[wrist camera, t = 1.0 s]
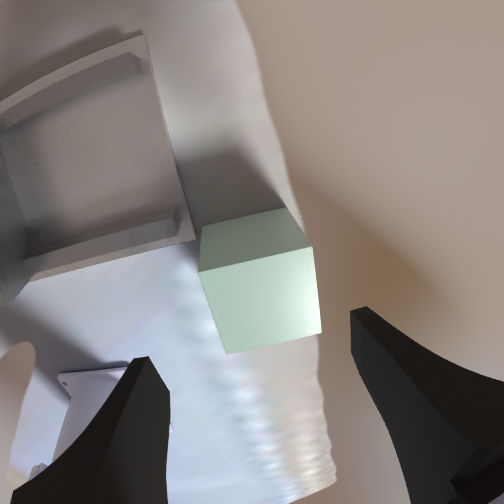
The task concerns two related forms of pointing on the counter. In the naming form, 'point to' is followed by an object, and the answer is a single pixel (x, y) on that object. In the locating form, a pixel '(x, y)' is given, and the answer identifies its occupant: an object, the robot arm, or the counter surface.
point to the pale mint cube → (259, 280)
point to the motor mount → (86, 169)
